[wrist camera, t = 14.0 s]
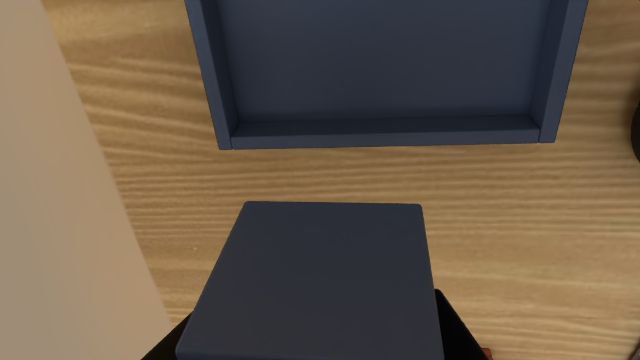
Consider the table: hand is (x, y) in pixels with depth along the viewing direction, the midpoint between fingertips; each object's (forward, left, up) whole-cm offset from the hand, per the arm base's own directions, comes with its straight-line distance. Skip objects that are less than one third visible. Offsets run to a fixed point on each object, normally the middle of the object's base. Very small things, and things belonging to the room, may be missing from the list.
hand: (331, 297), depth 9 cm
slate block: (0, 0, -1) cm, 1 cm away
